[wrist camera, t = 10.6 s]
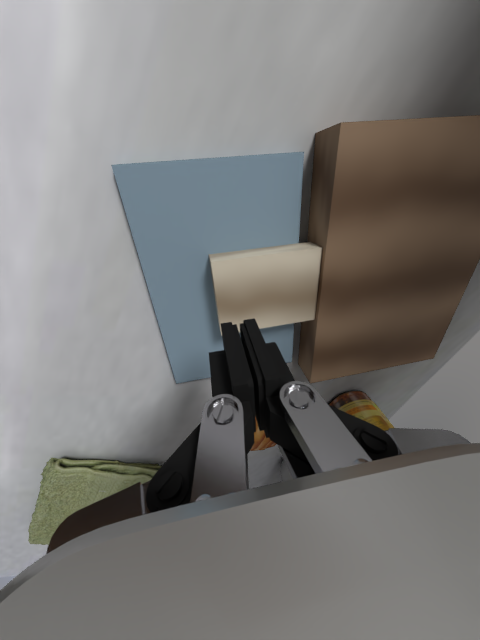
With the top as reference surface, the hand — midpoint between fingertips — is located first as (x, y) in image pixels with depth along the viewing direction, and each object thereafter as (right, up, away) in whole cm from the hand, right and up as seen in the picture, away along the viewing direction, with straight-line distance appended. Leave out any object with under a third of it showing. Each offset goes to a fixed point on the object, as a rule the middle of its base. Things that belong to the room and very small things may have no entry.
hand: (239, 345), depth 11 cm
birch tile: (+2, +4, +8) cm, 9 cm away
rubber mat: (-1, +4, +8) cm, 9 cm away
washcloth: (-19, -22, +20) cm, 35 cm away
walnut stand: (+13, +6, +10) cm, 17 cm away
